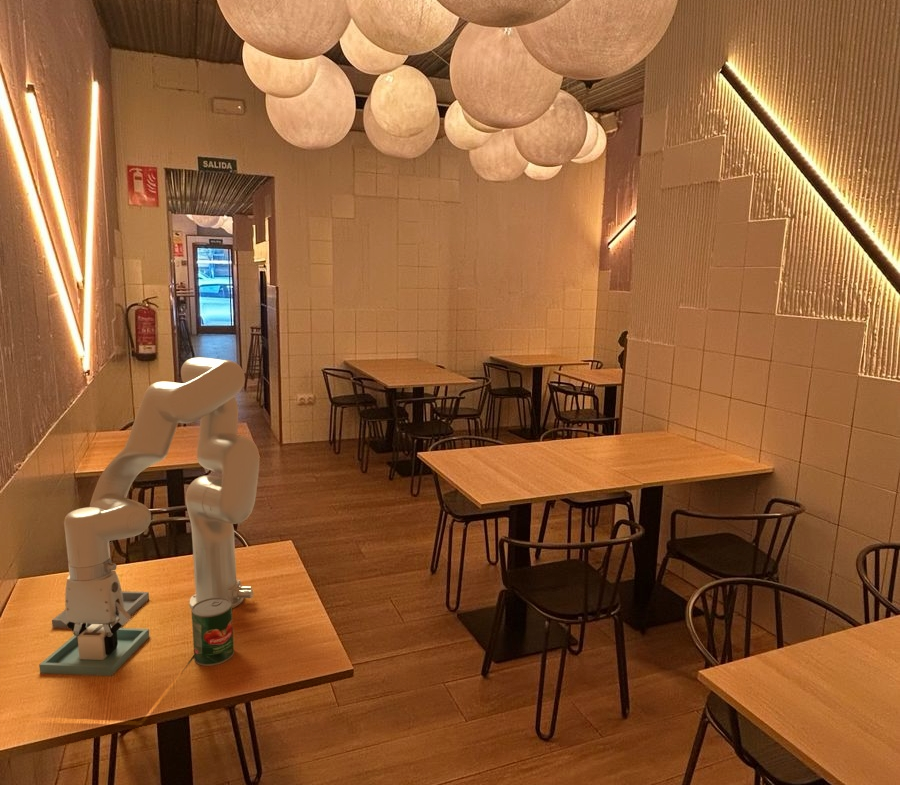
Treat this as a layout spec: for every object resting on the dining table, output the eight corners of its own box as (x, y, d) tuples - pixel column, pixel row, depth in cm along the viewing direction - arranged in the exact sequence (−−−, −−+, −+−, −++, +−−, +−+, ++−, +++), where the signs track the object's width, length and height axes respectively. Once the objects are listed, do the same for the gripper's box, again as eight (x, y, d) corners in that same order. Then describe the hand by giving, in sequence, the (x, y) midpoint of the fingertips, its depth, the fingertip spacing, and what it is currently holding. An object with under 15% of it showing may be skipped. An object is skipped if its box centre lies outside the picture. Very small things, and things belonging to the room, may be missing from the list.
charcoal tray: (149, 601, 159) (148, 592, 159) (115, 632, 145) (115, 622, 145) (91, 599, 160) (90, 590, 160) (52, 630, 146) (51, 620, 145)
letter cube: (116, 646, 138) (114, 624, 137) (103, 659, 133) (100, 636, 132) (94, 645, 138) (91, 623, 137) (79, 659, 133) (77, 636, 132)
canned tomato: (220, 668, 131) (217, 617, 130) (186, 663, 133) (182, 613, 131) (241, 647, 139) (238, 599, 137) (208, 643, 141) (205, 595, 139)
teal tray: (149, 639, 142) (148, 628, 142) (111, 678, 128) (110, 667, 127) (85, 636, 143) (84, 626, 143) (40, 675, 129) (39, 664, 128)
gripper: (140, 561, 136) (147, 642, 139) (61, 560, 137) (70, 640, 140) (120, 577, 128) (128, 662, 131) (37, 575, 129) (46, 659, 132)
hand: (98, 649), depth 135 cm, fingers closed on letter cube, 4 cm apart
